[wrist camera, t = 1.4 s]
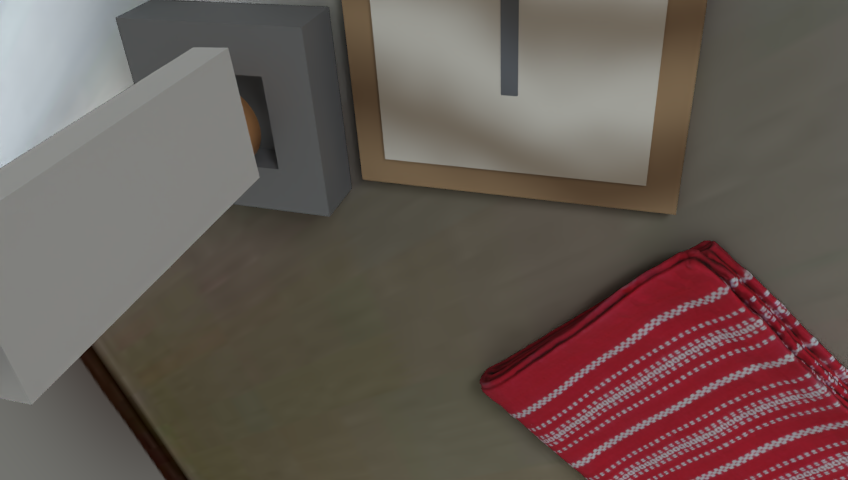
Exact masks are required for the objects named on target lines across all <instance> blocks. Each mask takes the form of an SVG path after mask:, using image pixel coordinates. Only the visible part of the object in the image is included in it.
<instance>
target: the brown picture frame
mask: <svg viewBox="0 0 848 480" xmlns="http://www.w3.org/2000/svg"><path fill="white" fill-rule="evenodd" d="M706 6H707V0H342V8H343V16H344V25H345V33H346V42H347V50H348V59H349V67H350V76H351V84H352V93H353V102H354V110H355V119H356V127H357V136H358V144H359V153H360V161H361V170H362V178H363V180H370V181H379V182H388V183H397V184H406V185H415V186H424V187H433V188H442V189H451V190H460V191H468V192H477V193H486V194H495V195H504V196H513V197H522V198H531V199H540V200H549V201H558V202H567V203H575V204H584V205H593V206H602V207H611V208H620V209H629V210H638V211H647V212H656V213H665V214H674V215H676V210H677V203H678V196H679V190H680V183H681V176H682V169H683V162H684V156H685V149H686V142H687V135H688V128H689V122H690V115H691V108H692V101H693V94H694V88H695V81H696V74H697V67H698V60H699V54H700V47H701V40H702V33H703V27H704V20H705V13H706Z"/></svg>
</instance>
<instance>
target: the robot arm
mask: <svg viewBox="0 0 848 480" xmlns="http://www.w3.org/2000/svg"><path fill="white" fill-rule="evenodd" d="M259 178H260V177H259V172H258V168H257V164H256V160H255V156H254V152H253V148H252V144H251V140H250V135H249V131H248V127H247V123H246V119H245V115H244V111H243V107H242V103H241V98H240V94H239V90H238V86H237V82H236V78H235V74H234V70H233V65H232V61H231V57H230V53H229V49H228V48H213V47H193V48H191V49H190V50H188V51H187V52H185V53H183V54H182V55H180V56H179V57H177V58H175V59H174V60H172V61H171V62H169V63H167V64H166V65H164V66H163V67H161V68H159V69H158V70H156V71H155V72H153V73H152V74H150V75H148V76H147V77H145V78H144V79H142V80H140V81H139V82H137V83H136V84H134V85H132V86H131V87H129V88H128V89H126V90H124V91H123V92H121V93H120V94H118V95H116V96H115V97H113V98H112V99H110V100H108V101H107V102H105V103H104V104H102V105H100V106H99V107H97V108H96V109H94V110H92V111H91V112H89V113H88V114H86V115H85V116H83V117H81V118H80V119H78V120H77V121H75V122H73V123H72V124H70V125H69V126H67V127H65V128H64V129H62V130H61V131H59V132H57V133H56V134H54V135H53V136H51V137H49V138H48V139H46V140H45V141H43V142H41V143H40V144H38V145H37V146H35V147H33V148H32V149H30V150H29V151H27V152H26V153H24V154H22V155H21V156H19V157H18V158H16V159H14V160H13V161H11V162H10V163H8V164H6V165H5V166H3V167H2V168H0V399H5V400H10V401H16V402H21V403H26V404H31V405H32V404H33V403H34V402H35V401H36V400H37V399H38V398H39V397H40V396H41V395H42V394H43V393H44V392H45V391H46V390H47V389H48V388H49V387H50V386H51V385H52V384H53V383H54V382H55V381H56V380H57V379H58V378H59V377H60V376H61V375H62V374H63V373H64V372H65V371H66V370H67V369H68V368H69V367H70V366H71V365H72V364H73V363H74V362H75V361H76V360H77V359H78V358H79V357H80V356H81V355H82V354H83V353H84V352H85V351H86V350H87V349H88V348H89V347H90V346H91V345H92V344H93V343H94V342H95V341H96V340H97V339H98V338H99V337H100V336H101V335H102V334H103V333H104V332H105V331H106V330H107V329H108V328H109V327H110V326H111V325H112V324H113V323H114V322H115V321H116V320H117V319H118V318H119V317H120V316H121V315H122V314H123V313H124V312H125V311H126V310H127V309H128V308H129V307H130V306H131V305H132V304H133V303H134V302H135V301H136V300H137V299H138V298H139V297H140V296H141V295H142V294H143V293H144V292H145V291H146V290H147V289H148V288H149V287H150V286H151V285H152V284H153V283H154V282H155V281H156V280H157V279H158V278H159V277H160V276H161V275H162V274H163V273H164V272H165V271H166V270H167V269H168V268H169V267H170V266H171V265H172V264H173V263H174V262H175V261H176V260H177V259H178V258H179V257H180V256H181V255H182V254H183V253H184V252H185V251H186V250H187V249H188V248H189V247H190V246H191V245H192V244H193V243H194V242H195V241H196V240H197V239H198V238H199V237H200V236H201V235H202V234H203V233H204V232H205V231H206V230H207V229H208V228H209V227H210V226H211V225H212V224H213V223H214V222H215V221H216V220H217V219H218V218H219V217H220V216H221V215H222V214H223V213H224V212H225V211H226V210H227V209H228V208H229V207H230V206H231V205H232V204H233V203H234V202H235V201H236V200H237V199H238V198H239V197H240V196H241V195H242V194H243V193H244V192H245V191H246V190H247V189H248V188H249V187H250V186H252V185H253V184H254V183H255V182H256V181H257V180H258V179H259Z"/></svg>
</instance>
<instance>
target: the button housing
mask: <svg viewBox="0 0 848 480" xmlns="http://www.w3.org/2000/svg"><path fill="white" fill-rule="evenodd" d="M116 22H117V25H118V29H119V32H120V36H121V39H122V43H123V46H124V50H125V53H126V57H127V60H128V64H129V67H130V71H131V74H132V78H133V81H134V84H136V83H137V82H139V81H140V80H142V79H144V78H145V77H147V76H148V75H150V74H152V73H153V72H155V71H156V70H158V69H159V68H161V67H163V66H164V65H166V64H167V63H169V62H171V61H172V60H174V59H175V58H177V57H179V56H180V55H182V54H183V53H185V52H187V51H188V50H190V49H191V48H193V47H213V48H228V49H229V53H230V57H231V61H232V65H233V70H234V74H235V78H236V82H237V86H238V90H239V94H240V96H241V97H242V98H243V99H244V100H245V101H246V102H247V103H248V104H249V106H250V107H251V108H252V110H253V111H254V113H255V115H256V117H257V120H258V122H259V126H260V130H261V142H260V146H259V149H258V151H257V153H256V154H255V160H256V164H257V168H258V172H259V177H260V178H259V179H258V180H257V181H256V182H255V183H254V184H253V185H252V186H250V187H249V188H248V189H247V190H246V191H245V192H244V193H243V194H242V195H241V196H240V197H239V198H238V199H237V200H236V201H235V202H234V203H233V204H236V205H243V206H251V207H259V208H267V209H274V210H282V211H290V212H298V213H305V214H313V215H321V216H329V217H330V216H331V214H332V213H333V212H334V210H335V209H336V208H337V207H338V205H339V204H340V203H341V201H342V200H343V199H344V198H345V196H346V195H347V194H348V193H349V191H350V190H351V189H352V186H351V178H350V170H349V163H348V155H347V147H346V139H345V131H344V123H343V115H342V108H341V100H340V92H339V84H338V76H337V68H336V60H335V53H334V45H333V37H332V29H331V21H330V13H329V7H319V6H296V5H272V4H248V3H224V2H201V1H177V0H150V1H148V2H146V3H144V4H142V5H140V6H138V7H136V8H134V9H132V10H130V11H128V12H126V13H124V14H122V15H120V16H118V17H116Z"/></svg>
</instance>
